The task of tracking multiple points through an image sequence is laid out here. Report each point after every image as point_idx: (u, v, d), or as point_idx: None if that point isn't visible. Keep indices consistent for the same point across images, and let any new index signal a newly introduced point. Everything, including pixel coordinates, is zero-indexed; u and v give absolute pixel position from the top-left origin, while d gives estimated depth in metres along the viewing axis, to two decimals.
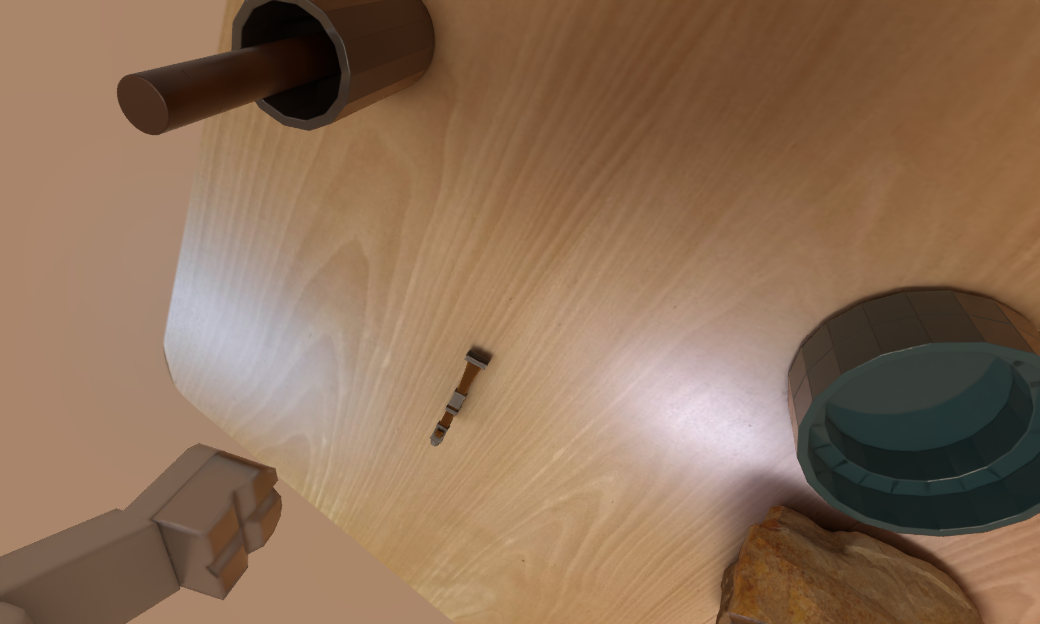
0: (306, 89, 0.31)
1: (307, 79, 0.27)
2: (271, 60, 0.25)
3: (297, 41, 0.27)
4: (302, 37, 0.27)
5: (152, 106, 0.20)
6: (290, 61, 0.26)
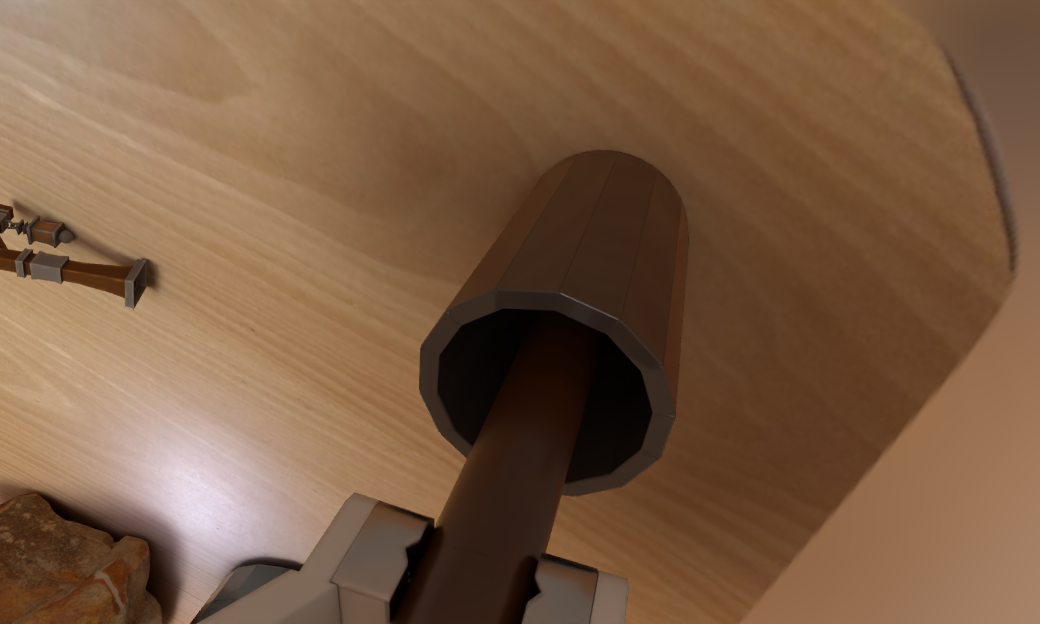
0: None
1: None
2: None
3: None
4: (588, 391, 0.14)
5: None
6: None
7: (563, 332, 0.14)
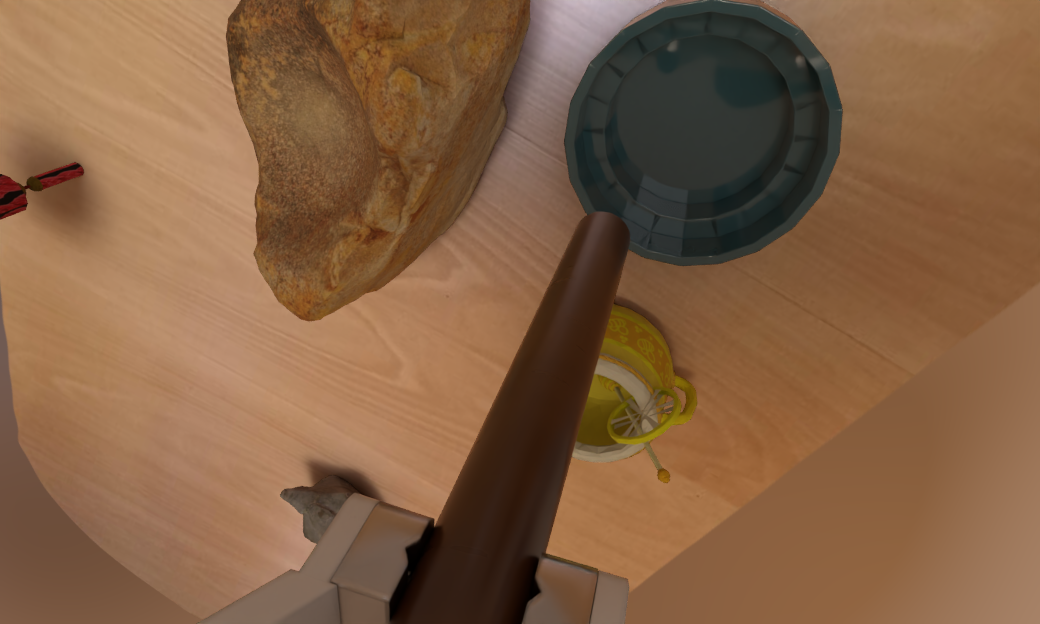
0: None
1: None
2: None
3: None
4: None
5: None
6: None
7: (563, 332, 0.14)
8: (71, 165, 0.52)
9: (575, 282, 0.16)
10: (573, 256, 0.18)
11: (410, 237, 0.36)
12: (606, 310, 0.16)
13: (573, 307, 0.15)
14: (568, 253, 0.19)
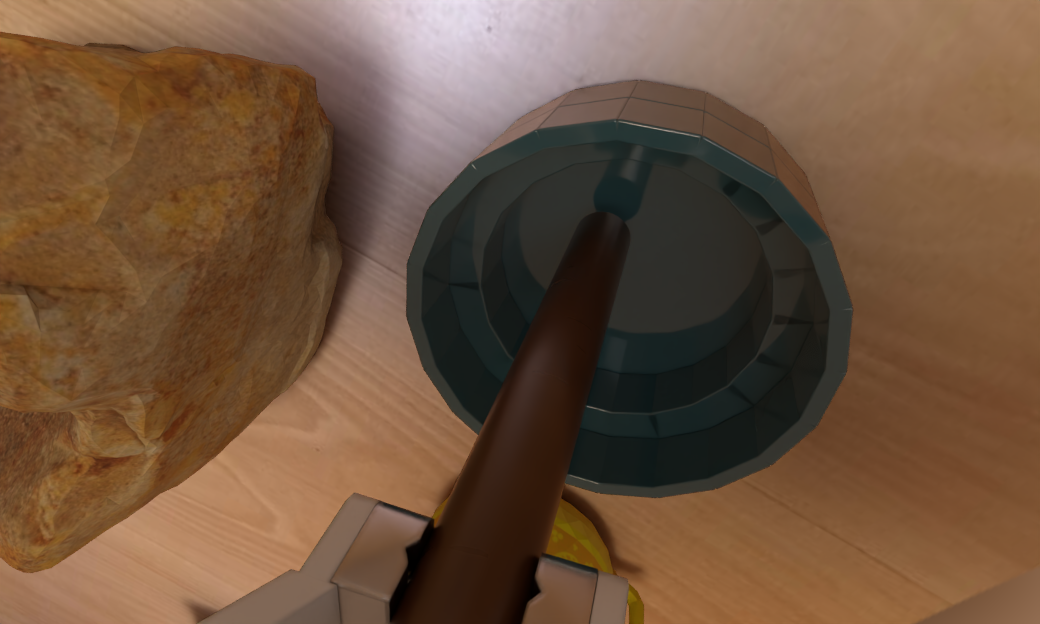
0: None
1: None
2: None
3: None
4: (589, 391, 0.14)
5: None
6: None
7: (563, 332, 0.14)
8: None
9: (576, 282, 0.16)
10: (573, 256, 0.18)
11: (189, 442, 0.24)
12: (606, 310, 0.16)
13: (574, 308, 0.15)
14: (568, 253, 0.19)
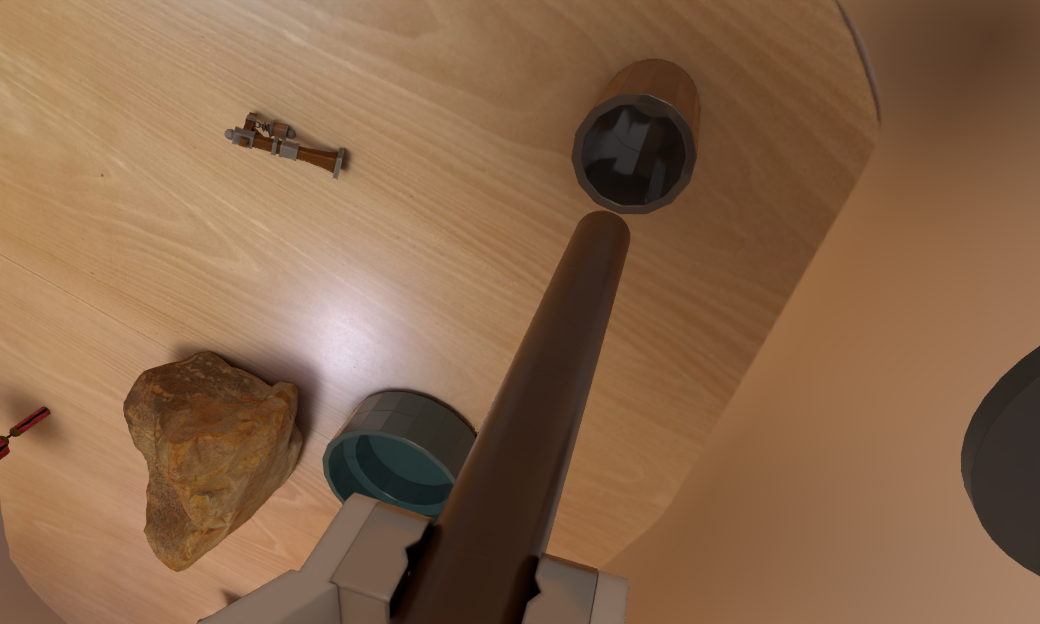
0: None
1: None
2: None
3: None
4: (589, 390, 0.14)
5: None
6: None
7: (563, 331, 0.14)
8: (41, 410, 0.75)
9: (575, 281, 0.16)
10: (573, 255, 0.18)
11: (240, 518, 0.59)
12: (606, 309, 0.16)
13: (573, 307, 0.15)
14: (568, 252, 0.18)
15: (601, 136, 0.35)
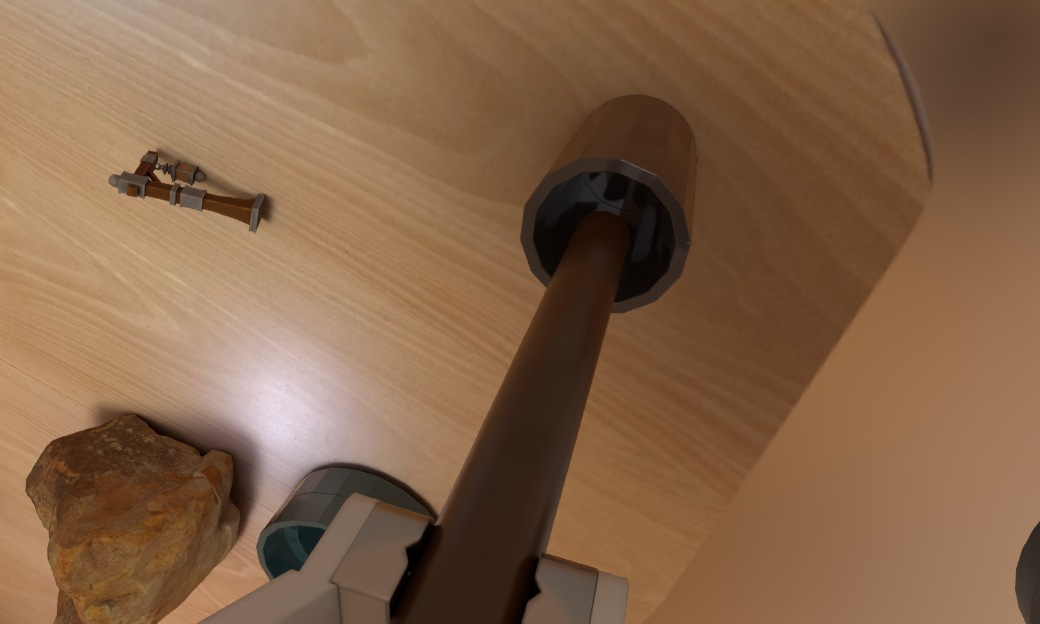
0: None
1: None
2: None
3: None
4: None
5: None
6: None
7: (563, 331, 0.14)
8: None
9: (575, 281, 0.16)
10: (573, 255, 0.18)
11: (166, 609, 0.51)
12: (606, 309, 0.16)
13: (574, 307, 0.15)
14: (568, 252, 0.18)
15: (568, 196, 0.27)
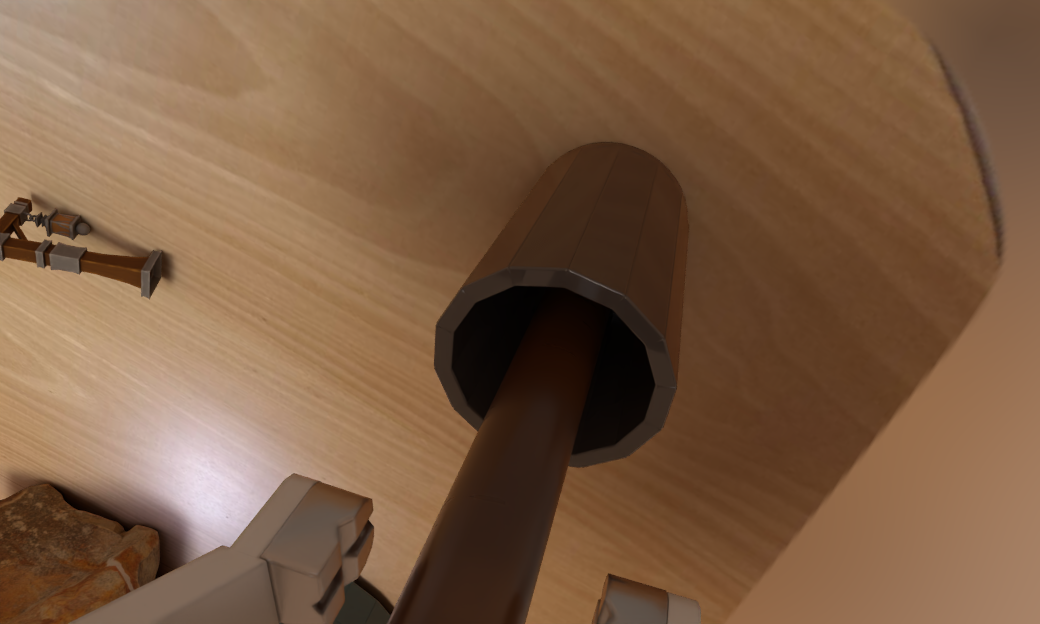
0: None
1: None
2: None
3: None
4: None
5: None
6: None
7: (570, 309, 0.15)
8: None
9: None
10: None
11: None
12: None
13: None
14: None
15: None
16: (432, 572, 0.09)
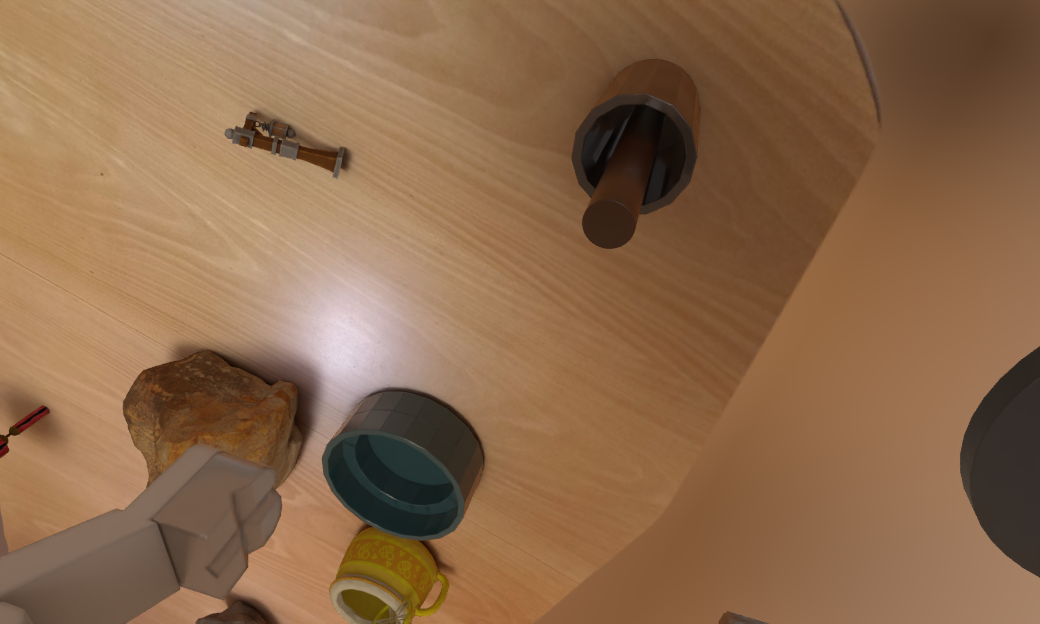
0: None
1: None
2: None
3: None
4: None
5: (607, 234, 0.22)
6: None
7: (642, 128, 0.30)
8: (40, 409, 0.75)
9: (643, 115, 0.32)
10: (639, 109, 0.34)
11: None
12: (659, 129, 0.32)
13: (645, 122, 0.31)
14: (635, 109, 0.34)
15: (601, 136, 0.35)
16: (608, 180, 0.24)
